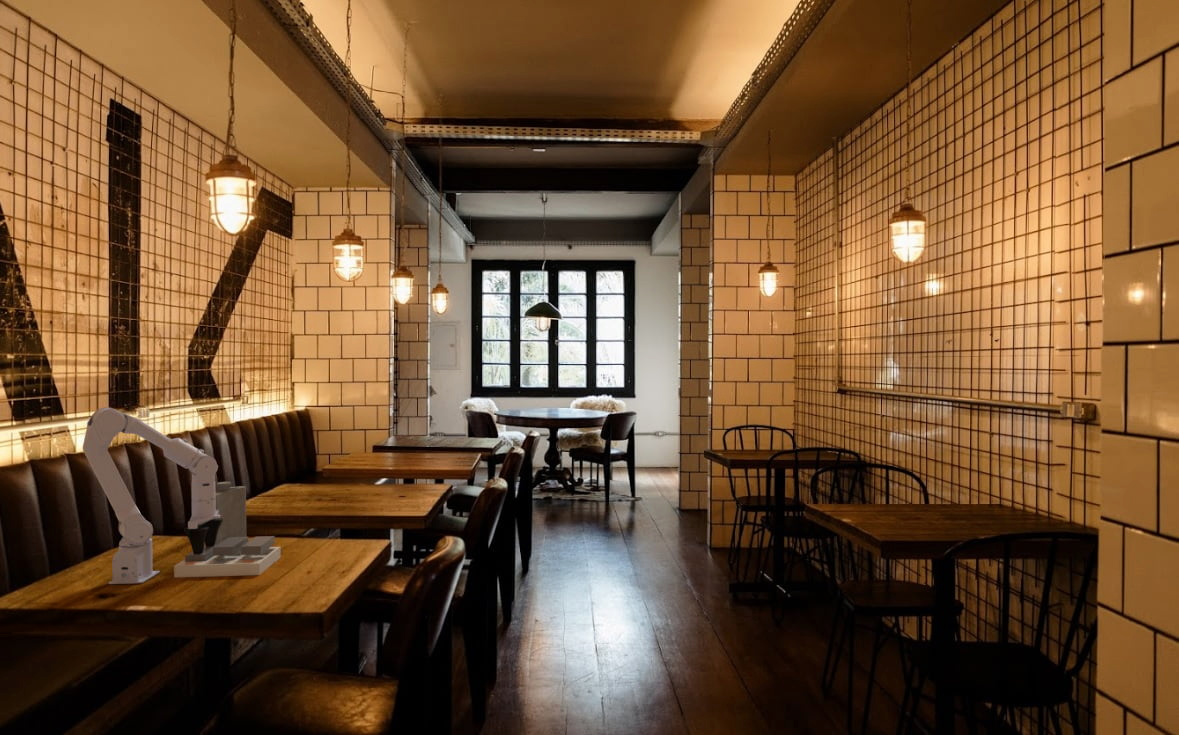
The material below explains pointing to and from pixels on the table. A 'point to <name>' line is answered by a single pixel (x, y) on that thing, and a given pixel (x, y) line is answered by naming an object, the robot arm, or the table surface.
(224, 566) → the switch unit
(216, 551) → the button middle
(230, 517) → the hip flask
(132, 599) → the table surface
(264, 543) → the button
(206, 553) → the button
